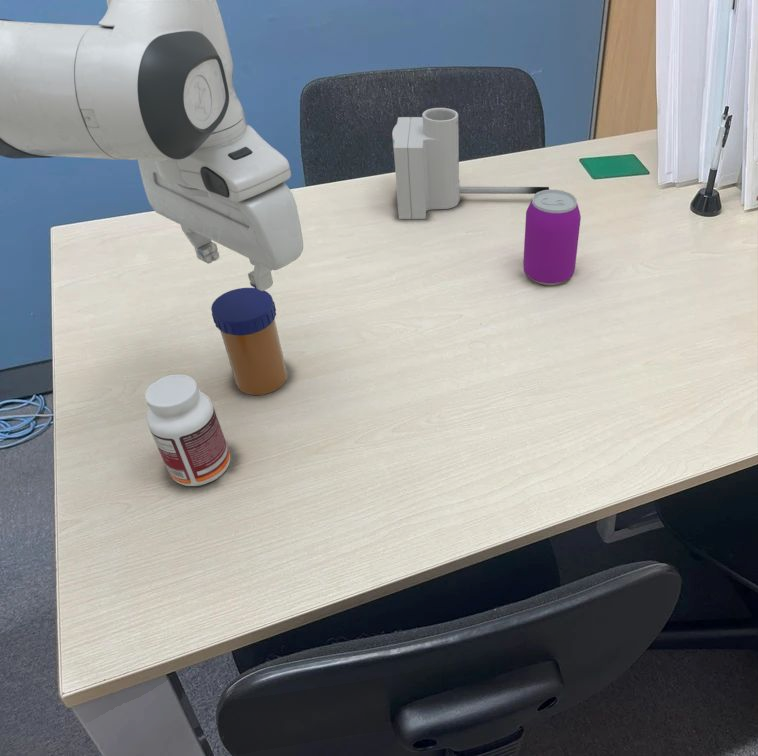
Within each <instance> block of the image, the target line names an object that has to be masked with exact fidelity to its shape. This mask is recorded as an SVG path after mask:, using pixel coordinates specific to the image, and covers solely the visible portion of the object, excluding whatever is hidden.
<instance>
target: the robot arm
mask: <svg viewBox="0 0 758 756" xmlns="http://www.w3.org/2000/svg"><path fill="white" fill-rule="evenodd" d="M106 5H107V6H106V7H107V9H106V12H105V14H104V15H103V17H102V18H101V19H100V21H98V25H93V24H71V23H53V22H51V23H50V22H49V23H48V22H31V21H30V22H29V21H16V20H11V19H5V18H0V156H1V157H4V158H8V159H15V160H16V159H17V160H18V159H44V158H47V159H48V158H49V159H51V158H56V157H57V158H58V157H59V158H60V157H61V158H78V159H79V158H80V159H96V160H97V159H98V160H99V159H100V160H118V161H119V160H130V161H138V168H139V172H140V177H141V181H142V184H143V185H142V186H143V188H144V193H145V196H146V198H147V202H148V204H149V205H150V207H151V208H152V209H153V211H154V212H155V213H156V214H158V215H159V216H162V217H164V218H166V219H169V220H170V221H173V222H174V223H176V224H178V225H180V228H181V230H182V232H183V233H184V235H185V236H186V238H187V240H188V241H189V242H190V244H191V245H192V247H193V248H194V251H195V254H196V258H197V259H198V260H200V261H202V262H204V263H206V264H212V263H213V262H216V261H217V260H218V259H220V253H219V251H218V249H219V248H218V245H217V244H219V245H221V246H223V247H225V248H227V249H230V250H231V251H233V252H235V253H236V254H239V255H241V256H243V257H245V258H247V259H249V263H250V264H251V265H252V266H254V267H253V270H252V271H250V272H248V273H247V277H248V280H249V284H250V287H252V288H256V289H258V290H260V291H267V290H268V289H270V288H272V287H273V284H274V280H273V276H272V271H278V270H281V269H282V268H284V267H286V266H288V265H289V264H292V263H293V262H295V261H296V260H298V259H299V258H300V257H301V255H302V253H303V251H304V238H303V233H302V226H301V221H300V216H299V212H298V207H297V204H296V203H297V202H296V200H295V197H294V195H293V193H292V190H291V189H290V188H289V186H288V185H287V184H286V181H288V180H290V178H291V177H292V171H291V167H290V163H289V160H288V159H287V158H286V157H285V156H284V155H283V154H282V153H281V152H279V151H278V150H277V149H276V148H274V147H273V146H271V145H270V144H269V143H268V142H267V141H265V139H264V138H263V137H261V135H260V134H259V133H258V132H257V131H256V130H255V129H254V127H252V126H251V125H249V124H247V121H246V116H245V111H244V108H243V105H242V103H241V101H240V99H239V98H238V95H237V93H236V90H235V87H234V81H233V80H234V79H233V77H234V61H233V56H232V52H231V47H230V43H229V39H228V35H227V32H226V28H225V25H224V21H223V18H222V15H221V11H220V8H219V5H218V2H217V0H106Z"/></svg>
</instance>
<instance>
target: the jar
mask: <svg viewBox="0 0 758 756" xmlns="http://www.w3.org/2000/svg"><path fill="white" fill-rule="evenodd" d="M219 332H220V335H221V338H222V341H223V345H224V348H225V351H226V355H227V358H228V361H229V364H230V368H231V371H232V375H233V378H234V382H235V384H236V388H237V389H238V390H239V391H240V392H242V393H243V394H245V395H246V394H247V395H251V396H263V395H267V394H271V393H273V392H276V391H277V390H279V389H280V388H281V387H282V386H283V385H284V384H285V383H286V381H287V379H288V371H287V368H286V363H285V358H284V353H283V349H282V345H281V340H280V337H279V331H278V328H277V323H276V319H275V320H274V321H273V322H272V323H271V324H270V325H269V326H268V327H266V328H265V329H263V330H261V331H259V332H256V333H252V334H248V335H230V334H227V333H224V332H222V331H220V330H219Z"/></svg>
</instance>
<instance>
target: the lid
mask: <svg viewBox="0 0 758 756" xmlns="http://www.w3.org/2000/svg"><path fill="white" fill-rule="evenodd" d="M210 311H211V316H212V320H213V323H214V325H215V327H216V328H217V329H218V330H219V332H220V331H222V332H224V333H227V334H230V335H248V334H252V333H256V332H259V331H261V330H263V329H265V328H266V327H268V326H269V325H270V324H271V323H272V322H273V321H274V320H275V321H276V316H277V309H276V305H275V301H274V299H273V296H272V295H271V293H269V292H268V291H267V290H264V291H260V290H258V289H256V288H254V287H240V288H236V289H235V288H234V289H231V290H229V291H226V292H224V293H222V294H221V295H219V296H218V297H217V298H215V299H214V301H212V304H211V308H210Z"/></svg>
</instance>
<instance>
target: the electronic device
mask: <svg viewBox="0 0 758 756" xmlns="http://www.w3.org/2000/svg"><path fill="white" fill-rule="evenodd" d="M421 115H422V116H398V117H397V121H396V124H395V125H394V127H393V129H392V133H391V135H392V148H393V149H392V150H393V157H394V158H393V159H394V171H395V185H396V191H395V192H396V203H397V209H398V210H397V211H398V212H397V213H398V220H426V219H427V211H430V210H448V209H453V208H455V207H457V206H458V205H459V203H460V201H461V194H462V195H465V194H468V195H469V194H471V195H476V194H478V195H480V194H482V195H483V194H484V195H486V194H487V195H489V194H490V195H493V194H494V195H504V194H505V195H534V194H536V193H538V192H540V191H543V190H550V187H549V186H461V185H460V182H461V181H460V165H459V164H460V158H459V157H460V156H459V155H460V153H459V151H460V150H459V149H460V148H459V147H460V146H459V142H460V136H459V113H458V112H457V111H456V110H455V109H451V108H449V107H447V108H446V107H433V108H428V109H425V110H424V111H423V112H422V113H421Z"/></svg>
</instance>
